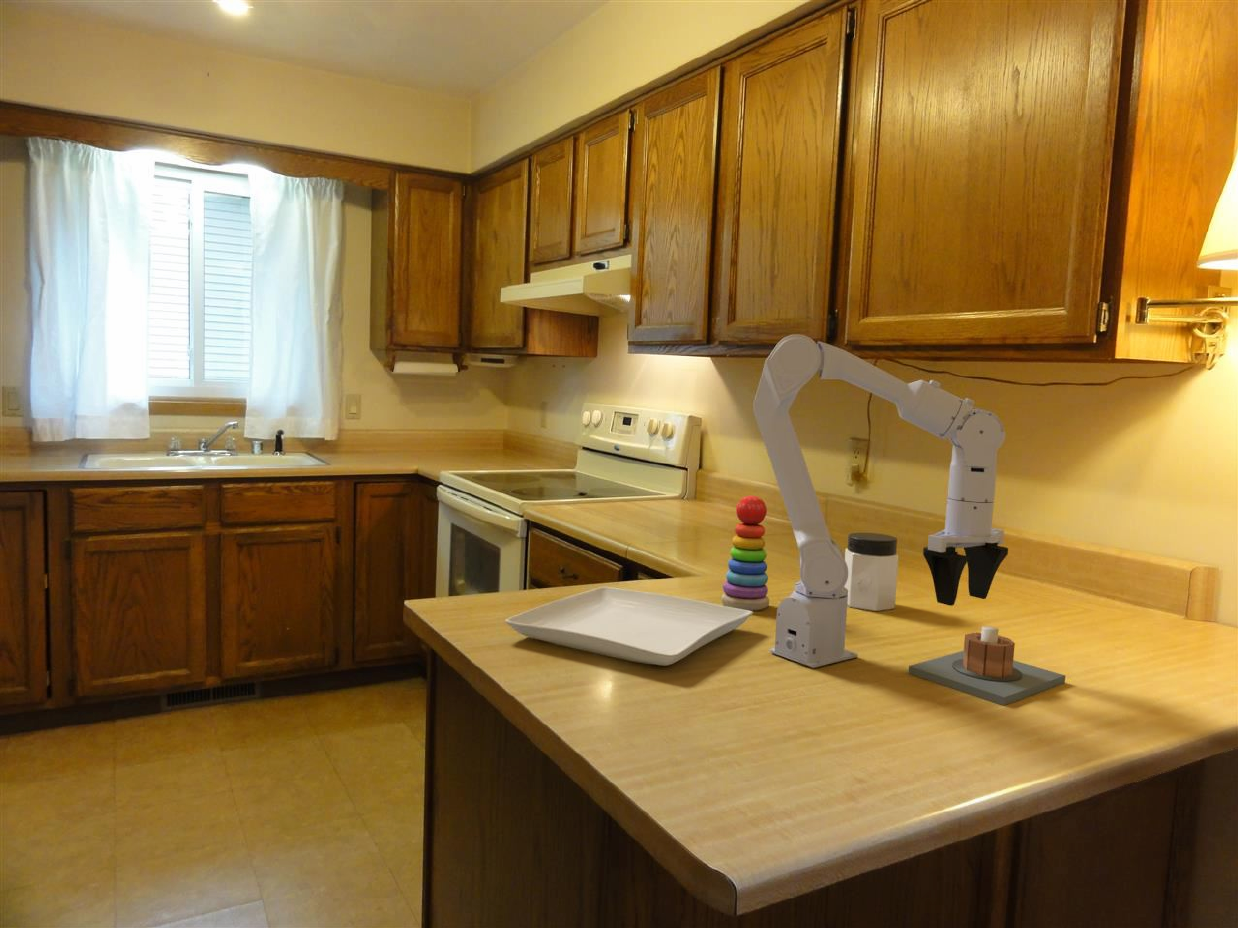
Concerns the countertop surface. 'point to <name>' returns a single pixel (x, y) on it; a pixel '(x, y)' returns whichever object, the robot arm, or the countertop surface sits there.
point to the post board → (987, 687)
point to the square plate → (629, 624)
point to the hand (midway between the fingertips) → (961, 600)
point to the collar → (988, 656)
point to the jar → (871, 571)
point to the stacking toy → (748, 559)
